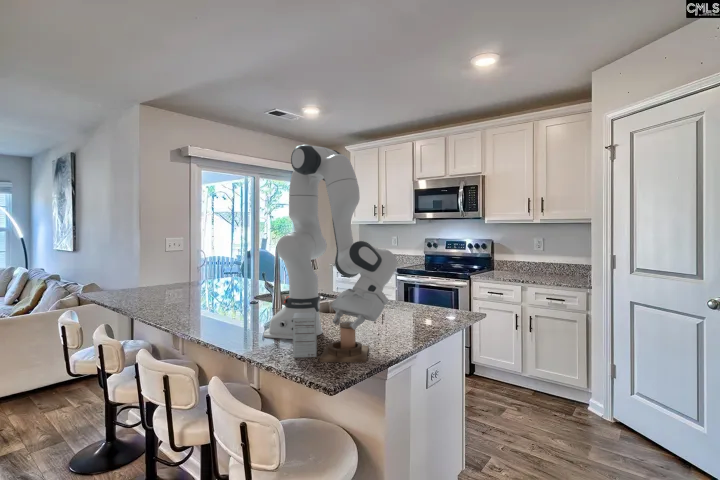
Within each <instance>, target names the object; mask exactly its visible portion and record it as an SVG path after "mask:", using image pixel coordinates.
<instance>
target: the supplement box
mask: <svg viewBox="0 0 720 480" xmlns="http://www.w3.org/2000/svg"><path fill="white" fill-rule="evenodd" d="M317 336H318V335H317V331H316V313H294V316H293V339H292V345H293V348H292V350H293V352H292V353H293V358H295V359H297V358H316V357H317V353H318V343H317V342H318V339H317Z"/></svg>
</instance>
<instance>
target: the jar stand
mask: <svg viewBox="0 0 720 480" xmlns="http://www.w3.org/2000/svg"><path fill="white" fill-rule="evenodd" d="M355 342H356V348H352V349H340V340H338V341H334V342H330V343H329V344H326V347H325V348H324V349H323V351H322V353H321V355H320V357H319V361H318V362H319V363H364V364H365V363H366V362H367V358H368V354H369V348H370V347H369V345H363V344H362V343H361V342H358V341H355Z"/></svg>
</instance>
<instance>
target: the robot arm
mask: <svg viewBox="0 0 720 480" xmlns="http://www.w3.org/2000/svg"><path fill="white" fill-rule="evenodd" d="M290 157H291V158H290V164H291V167H292V169H293V171H292V173H291V176H290V181H289V182H290V183H289V190H288V192H289V193H288V216H289V218H290V221H291V222H292V223H293V227H294V231H295V232H290V233H287V234H285V235H283V236H281V237H280V238H279V240H278V241H277V244H276V251H277V255H278V256H279V257H280V259H282V261H283V262H284V265H285V268H286V271H287V275H288V287H289V289H288V291H289V295H288V296H286V297H285V299H284V300H283V304H284V307H283V308H281V309H280V310H279V311H278V312H277V313H275V314H274V315H273V316H272V317H271V319H270V323H269V326H268V327H269V328H266V330H264V331H263V337H264V338H270V339H286V340H293V316H294V313H316V331H317V336H320V335H322V334H323V333H324V331H323V328H322V323H321V316H320V309H321V299H320V295H319V275H318V274H317V273H316V272H315V270H314V267H313V263H312V260H316V259H318V258H320V257H321V256H323V255H324V254H326V251H327V247H328V246H327V245H328V244H327V241H326V239H325V237H324V236H323V233H322V229H321V225H320V219H319V184H320V182H321V181H322V180H323V181H324V182H325V188H326V192H327V196H328V201H329V204H330V211H331V218H332V219H331V220H332V226H333V233H334V240H335V247H336V256H335V260H334V264H335V265H334V266H335V269H336V270H337V272H338V273H339V274H340V275H342V276H343V277H345V278H353V277H357V276H358V275H360V277H359V278H358V279H357V281H356V282H355V284H354V285H353V287H352V288H348V289H346V290H343V291H341V292H340V294H338V295H337V297H336V298H335V299H334V300H333V302H332V303H331V308H332V309H333V310H334V311H335V315H334V319H332V323H333V324H334V325H340V323H341V322H342V321H341V317H343V315H346V316H349V317H354V318H356V319H355V320H354V321H350V322H351V324H350V326H349V327H350V328H351V329H353V330H355V331H356V329H357V328H358V327H359V326H360V325H362V324H363V323H364V322H365V321H369V322H375V321H376V320H378V319H379V317H380V316H381V315H382V312H383V311H384V309H385V306H386V305H387V304H388V302H389V299H388V297H387V295H386V294H384V292H383V290H384V287H385V286H386V285H387V284H388V283H389V281H390V280H391V279H392V276H393V275H394V273H395V271H396V269H397V266H398V259H397V258H396V255H395V254H394V253H393V252H392V251H390V250H389V249H386V248H378V247H375V246H373V245H371V244H370V243H369V242H367V241H364V240H363V241H362V240H358V241H355V242H354V238H353V232H352V225H351V224H352V218H353V215H354V213H355V210H356V208H358V204H359V203H360V187H359V183H358V179H357V176H356V173H355V170H354V167H353V164H352V163H351V161H350V158H349V157H348V156H347V155H345V154H342V153H341V152H339V151H337V150H334V149H331V148H328V147H324V146H318V145H317V146H316V145H310V144H300V145H297V146H295V148H294V149H293V151H292V154H291V156H290Z"/></svg>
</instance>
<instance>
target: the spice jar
mask: <svg viewBox="0 0 720 480" xmlns="http://www.w3.org/2000/svg"><path fill="white" fill-rule="evenodd" d="M351 322H352V321H341V322H340V323H339V329H340V330H339V332H340V333H339V334H340V338H339V341H340V349H352V348H356V342H357V341H356V330H353V329H351V328H350V327H349V326H350V324H351Z"/></svg>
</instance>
